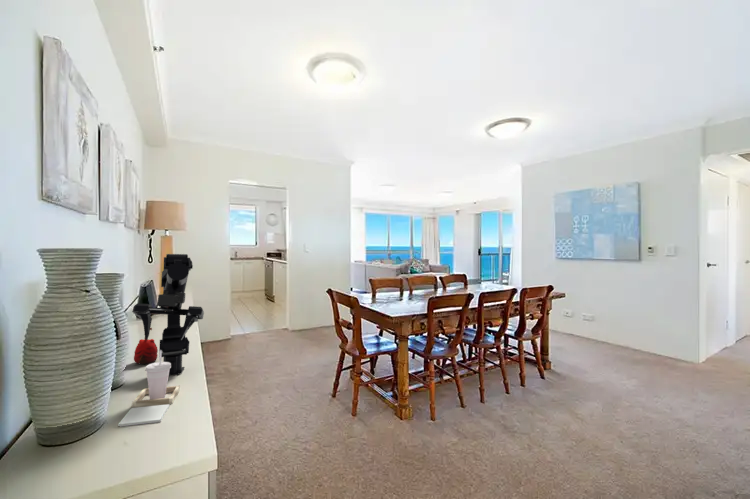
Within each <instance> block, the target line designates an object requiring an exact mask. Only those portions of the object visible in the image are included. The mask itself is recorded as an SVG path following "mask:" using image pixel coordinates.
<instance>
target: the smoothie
mask: <svg viewBox="0 0 750 499" xmlns="http://www.w3.org/2000/svg"><path fill="white" fill-rule="evenodd" d="M158 352H159V351H158ZM158 354H159V355H158V356H159V357H158V358H159V359H158V361H157V362H152V363H149V364H146V366H145V368H144V369H145V370H144V371H145V372H146V377H147V378H146V379H147V385H148V386H147V387H148V388H149V394H148V396H149V397H148V398H149V399H159V398H166V394H167V393H166V388H167V387H168V382H169V381H168V380H169V376H170V375H169V370H170V368H171V363H169V362H163V361H162V358H163V357H162V350H160V352H159V353H158Z"/></svg>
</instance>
